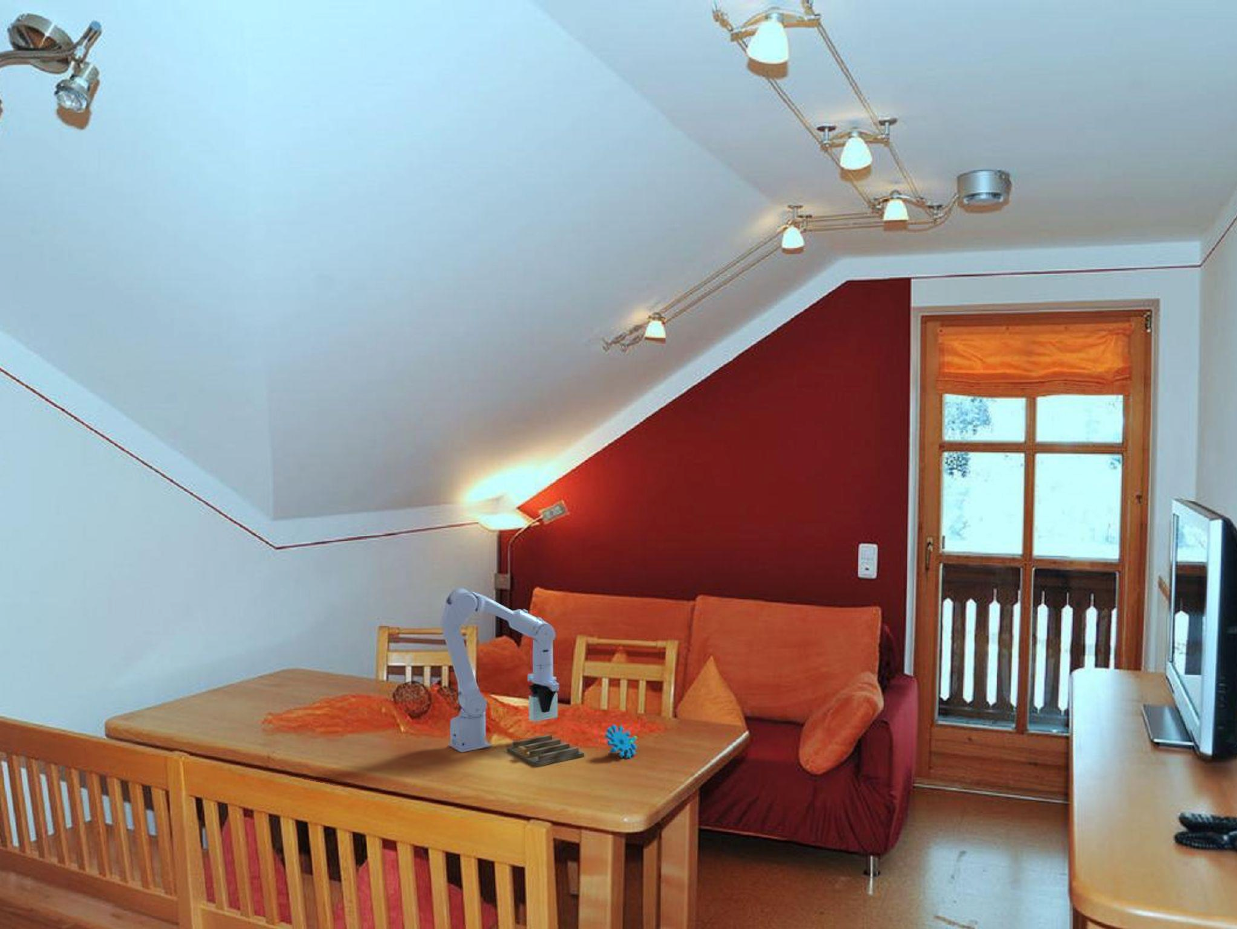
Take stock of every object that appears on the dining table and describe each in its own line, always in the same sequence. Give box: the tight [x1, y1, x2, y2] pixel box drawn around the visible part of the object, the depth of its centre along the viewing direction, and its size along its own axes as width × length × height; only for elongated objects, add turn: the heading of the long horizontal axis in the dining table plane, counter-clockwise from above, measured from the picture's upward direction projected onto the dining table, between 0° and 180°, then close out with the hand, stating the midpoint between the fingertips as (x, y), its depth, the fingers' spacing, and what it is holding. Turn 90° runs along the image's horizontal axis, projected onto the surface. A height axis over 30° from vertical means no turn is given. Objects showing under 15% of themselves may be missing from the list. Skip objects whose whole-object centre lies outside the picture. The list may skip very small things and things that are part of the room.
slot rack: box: [506, 733, 585, 768], centre depth 283 cm, size 15×16×3 cm
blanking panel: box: [528, 692, 559, 723], centre depth 297 cm, size 8×2×7 cm, turn 124°
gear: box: [604, 724, 638, 759], centre depth 283 cm, size 11×6×10 cm
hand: (543, 710), depth 297 cm, fingers closed on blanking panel, 2 cm apart
